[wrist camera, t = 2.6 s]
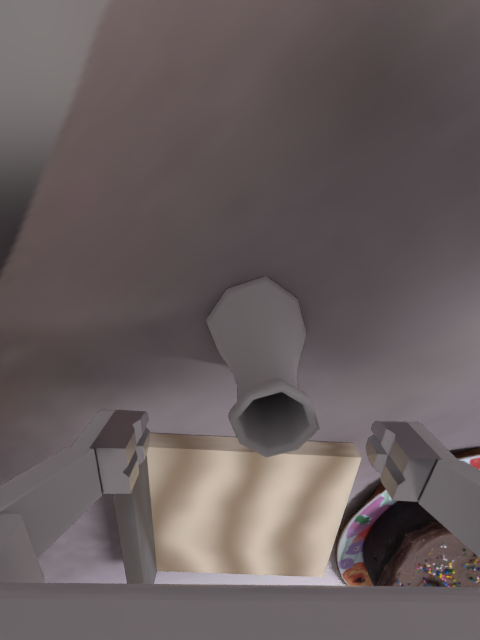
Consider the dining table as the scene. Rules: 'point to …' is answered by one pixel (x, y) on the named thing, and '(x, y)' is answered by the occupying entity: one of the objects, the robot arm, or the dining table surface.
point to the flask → (264, 365)
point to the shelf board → (233, 508)
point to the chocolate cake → (404, 545)
